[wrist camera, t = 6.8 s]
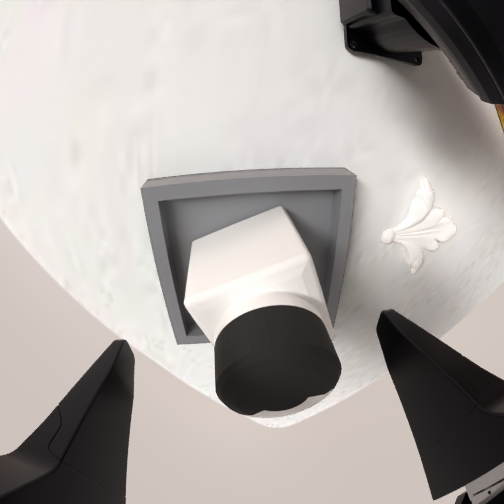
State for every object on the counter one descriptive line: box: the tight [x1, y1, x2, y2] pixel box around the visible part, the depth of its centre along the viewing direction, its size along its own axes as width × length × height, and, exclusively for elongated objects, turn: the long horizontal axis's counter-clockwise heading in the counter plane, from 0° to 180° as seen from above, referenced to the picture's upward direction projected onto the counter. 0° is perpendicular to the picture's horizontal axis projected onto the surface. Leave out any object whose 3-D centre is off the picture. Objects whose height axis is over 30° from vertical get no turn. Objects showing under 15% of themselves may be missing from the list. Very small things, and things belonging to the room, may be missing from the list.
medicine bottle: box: [184, 206, 342, 418], centre depth 17 cm, size 7×7×12 cm
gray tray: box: [141, 168, 356, 345], centre depth 22 cm, size 14×14×2 cm
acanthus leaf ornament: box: [381, 178, 457, 274], centre depth 23 cm, size 8×7×2 cm
